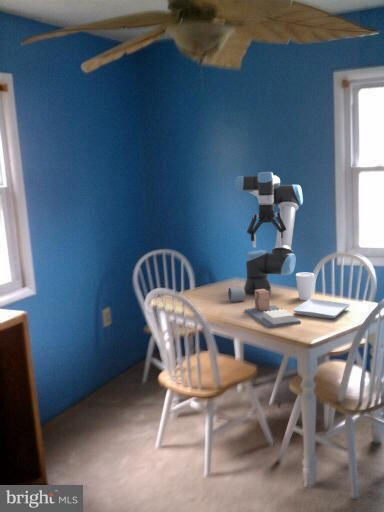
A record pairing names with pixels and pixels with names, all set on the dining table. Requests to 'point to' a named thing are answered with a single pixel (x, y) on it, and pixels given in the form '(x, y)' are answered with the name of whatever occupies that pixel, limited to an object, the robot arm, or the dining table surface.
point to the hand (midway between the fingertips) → (267, 246)
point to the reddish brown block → (262, 299)
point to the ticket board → (265, 322)
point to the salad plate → (321, 308)
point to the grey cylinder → (236, 294)
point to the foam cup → (305, 285)
